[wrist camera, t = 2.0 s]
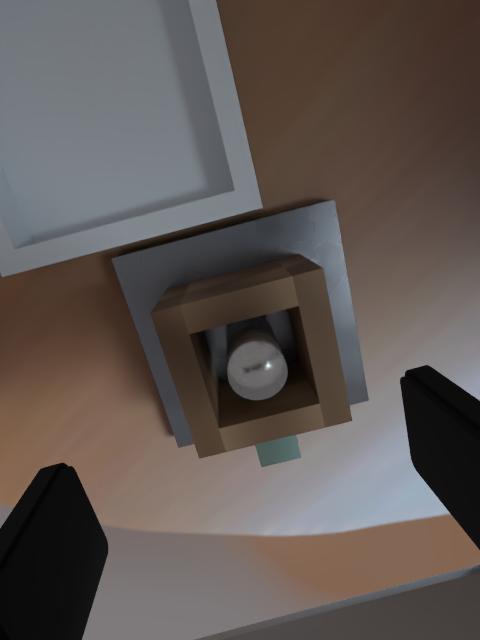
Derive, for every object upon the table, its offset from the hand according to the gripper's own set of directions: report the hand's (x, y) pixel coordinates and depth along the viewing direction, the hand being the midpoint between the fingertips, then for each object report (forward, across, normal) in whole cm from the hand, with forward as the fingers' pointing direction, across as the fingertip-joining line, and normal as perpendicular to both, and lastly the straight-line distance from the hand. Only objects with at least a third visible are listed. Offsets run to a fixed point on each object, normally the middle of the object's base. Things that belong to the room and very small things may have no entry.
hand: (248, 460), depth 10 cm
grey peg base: (+11, -1, 0) cm, 11 cm away
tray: (+11, +3, -12) cm, 17 cm away
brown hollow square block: (+10, -1, 0) cm, 10 cm away
